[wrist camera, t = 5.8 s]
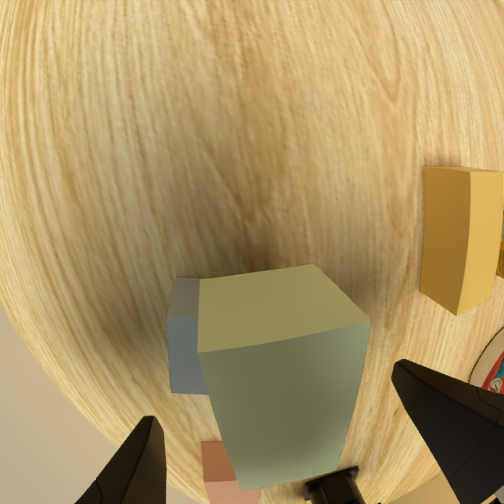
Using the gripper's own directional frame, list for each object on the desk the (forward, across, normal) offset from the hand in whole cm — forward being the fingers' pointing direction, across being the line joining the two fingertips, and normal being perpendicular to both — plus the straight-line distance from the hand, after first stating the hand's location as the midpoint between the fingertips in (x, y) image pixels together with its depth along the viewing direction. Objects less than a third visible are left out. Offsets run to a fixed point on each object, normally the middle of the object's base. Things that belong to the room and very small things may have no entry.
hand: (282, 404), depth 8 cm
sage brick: (+2, 0, 0) cm, 2 cm away
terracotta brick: (+6, +4, +15) cm, 17 cm away
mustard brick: (+6, -13, -3) cm, 15 cm away
